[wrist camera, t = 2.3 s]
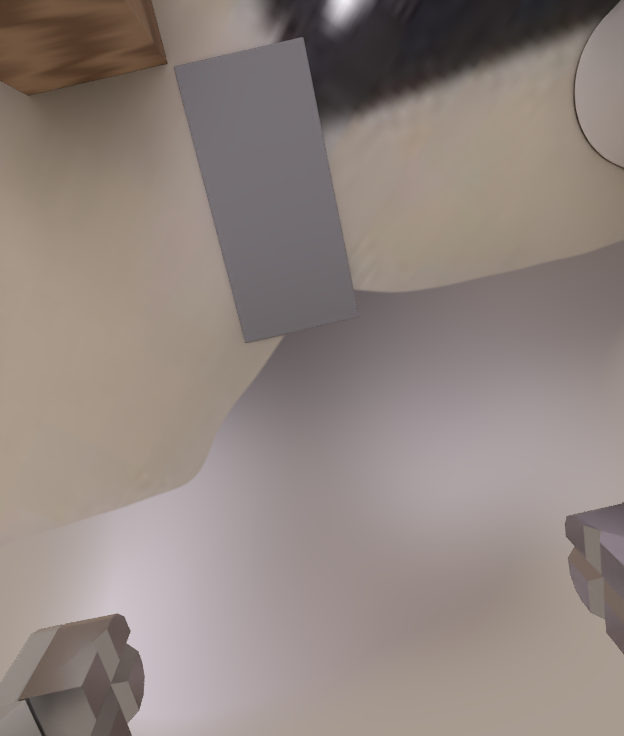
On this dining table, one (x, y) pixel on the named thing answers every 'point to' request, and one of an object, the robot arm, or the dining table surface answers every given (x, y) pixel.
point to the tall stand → (75, 41)
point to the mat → (269, 187)
